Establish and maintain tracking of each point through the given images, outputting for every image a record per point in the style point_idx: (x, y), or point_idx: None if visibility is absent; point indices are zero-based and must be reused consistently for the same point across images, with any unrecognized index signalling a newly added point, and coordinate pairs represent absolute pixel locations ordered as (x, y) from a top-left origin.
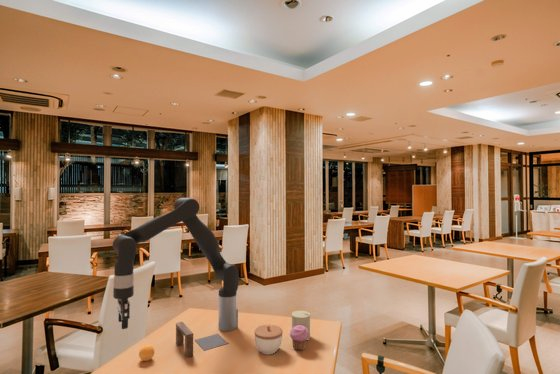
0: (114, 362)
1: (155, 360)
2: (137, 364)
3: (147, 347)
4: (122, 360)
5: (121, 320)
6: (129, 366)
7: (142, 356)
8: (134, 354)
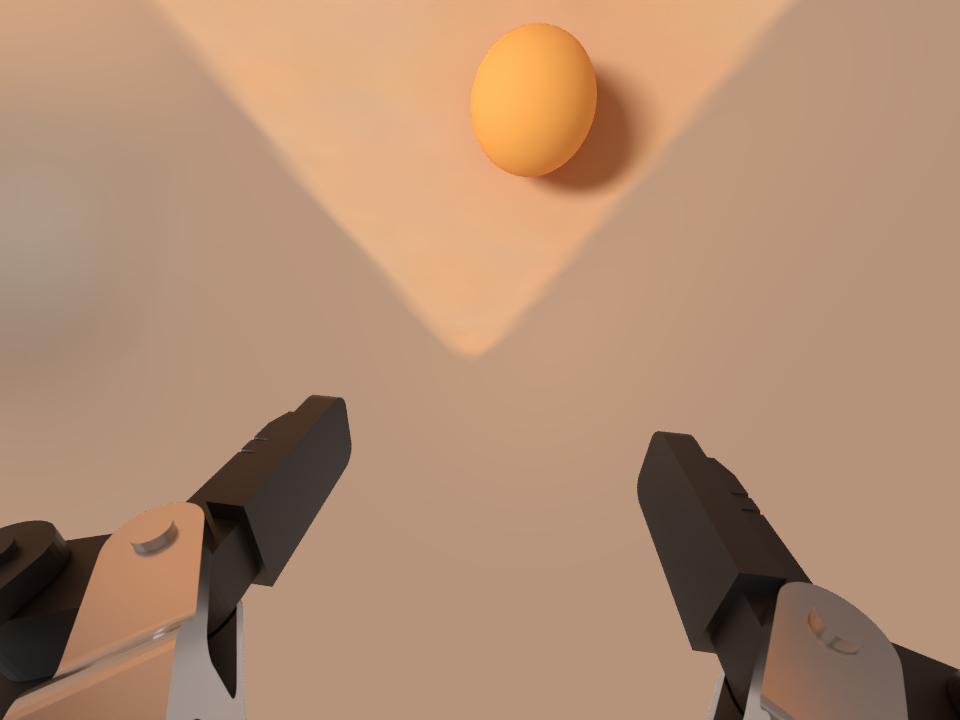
0: (435, 305)
1: None
2: (546, 194)
3: (561, 96)
4: (437, 263)
5: (341, 437)
6: (537, 244)
7: (568, 159)
8: (396, 177)
